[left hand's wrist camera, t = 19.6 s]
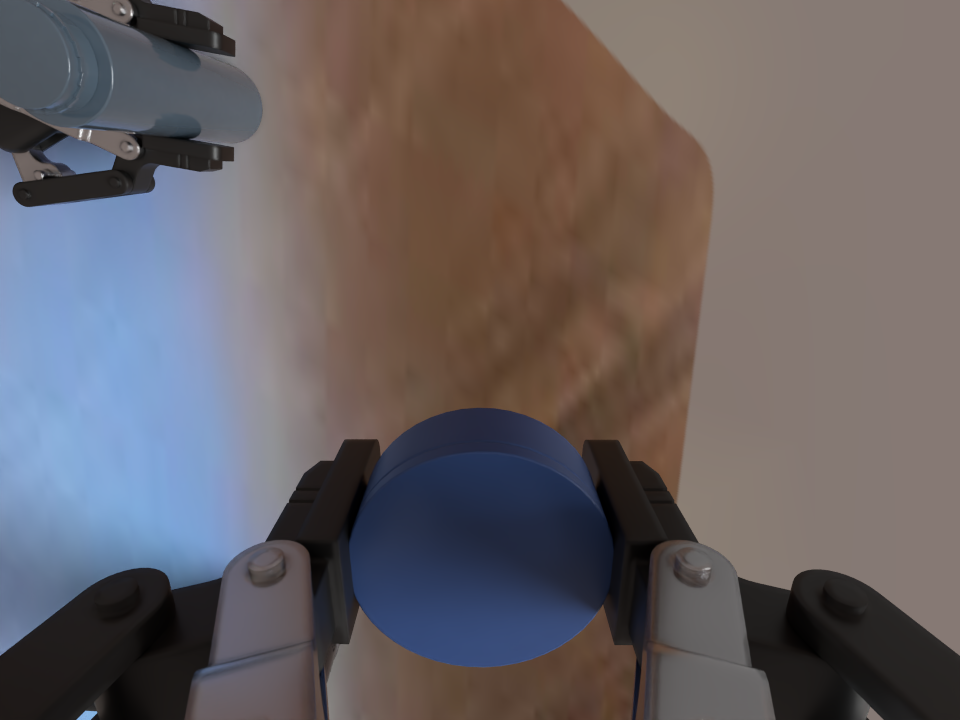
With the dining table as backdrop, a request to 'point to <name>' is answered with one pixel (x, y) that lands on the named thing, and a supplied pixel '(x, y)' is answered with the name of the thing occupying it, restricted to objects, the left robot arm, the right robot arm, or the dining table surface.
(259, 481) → the dining table surface
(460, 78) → the dining table surface
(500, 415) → the lid
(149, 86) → the jar
